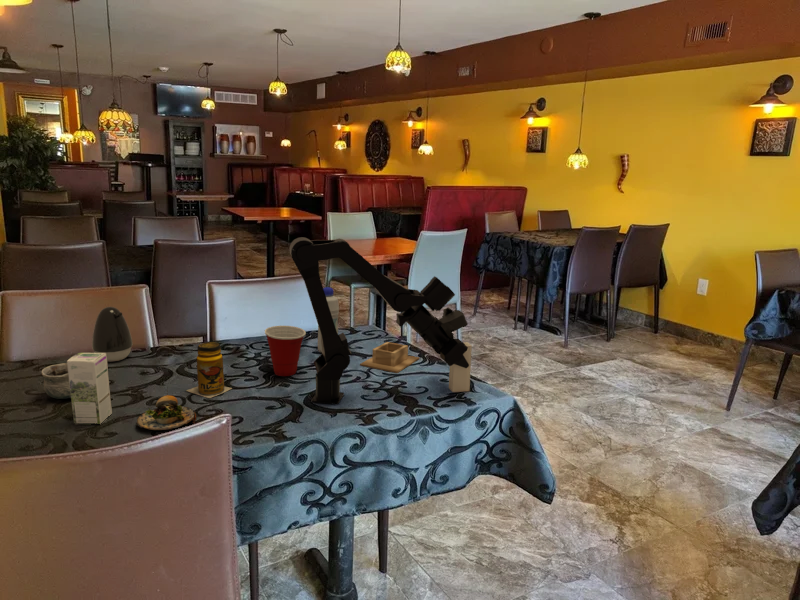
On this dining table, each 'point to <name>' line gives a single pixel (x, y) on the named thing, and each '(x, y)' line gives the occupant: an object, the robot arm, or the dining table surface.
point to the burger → (166, 415)
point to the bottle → (333, 309)
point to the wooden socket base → (390, 358)
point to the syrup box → (89, 387)
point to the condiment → (209, 371)
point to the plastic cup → (284, 348)
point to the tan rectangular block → (461, 374)
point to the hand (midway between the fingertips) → (465, 364)
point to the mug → (56, 381)
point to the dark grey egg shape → (111, 335)
